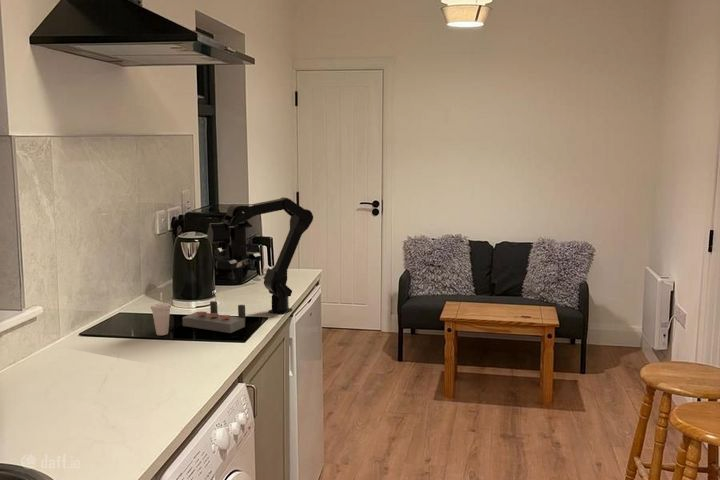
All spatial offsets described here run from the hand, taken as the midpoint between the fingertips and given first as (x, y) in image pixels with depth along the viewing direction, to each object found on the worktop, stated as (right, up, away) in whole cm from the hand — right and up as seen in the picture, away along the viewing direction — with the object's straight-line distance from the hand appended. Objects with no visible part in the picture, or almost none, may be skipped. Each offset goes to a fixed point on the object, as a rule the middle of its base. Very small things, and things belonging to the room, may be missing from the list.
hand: (240, 284), depth 250 cm
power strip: (-8, -14, -9) cm, 18 cm away
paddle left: (-12, -10, -7) cm, 17 cm away
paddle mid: (-8, -11, -9) cm, 16 cm away
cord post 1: (-9, -12, +1) cm, 15 cm away
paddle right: (-3, -11, -11) cm, 16 cm away
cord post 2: (+1, -13, -4) cm, 14 cm away
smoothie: (-23, -15, -16) cm, 32 cm away
